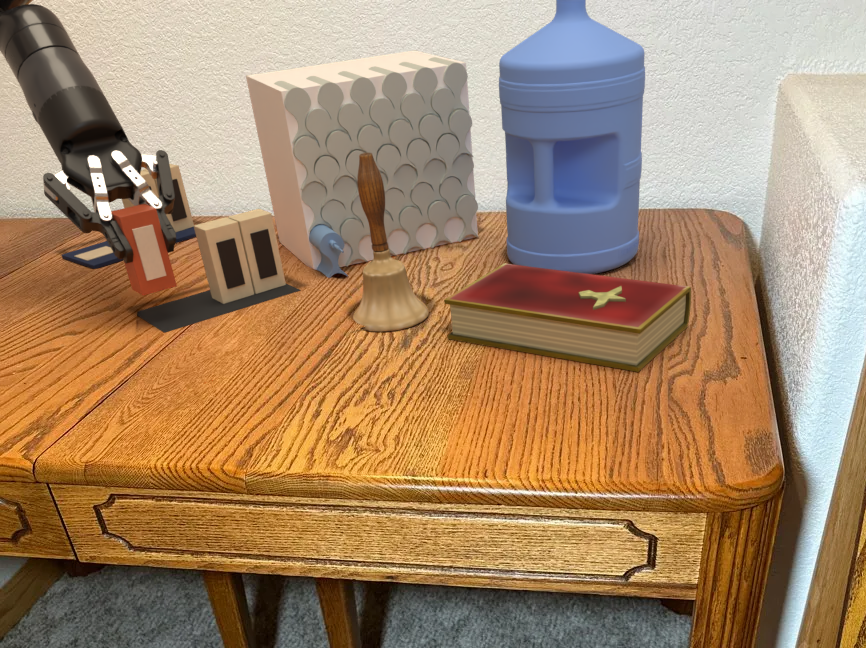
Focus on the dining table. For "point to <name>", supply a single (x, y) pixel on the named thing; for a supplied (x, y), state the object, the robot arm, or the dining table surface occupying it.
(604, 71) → the water jug
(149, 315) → the front word mat
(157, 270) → the red rectangular block
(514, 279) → the hardcover book
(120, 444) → the dining table surface
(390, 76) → the scalloped white box
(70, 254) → the mat
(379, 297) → the hand bell
